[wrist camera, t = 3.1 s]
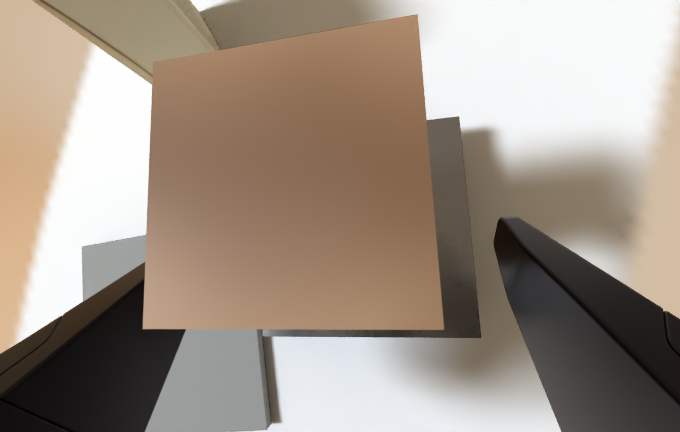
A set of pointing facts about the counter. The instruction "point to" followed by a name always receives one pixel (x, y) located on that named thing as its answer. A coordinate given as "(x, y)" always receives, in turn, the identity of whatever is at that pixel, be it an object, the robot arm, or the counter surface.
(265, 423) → the mat
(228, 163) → the walnut peg
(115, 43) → the skincare box
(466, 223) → the collar
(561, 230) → the counter surface
